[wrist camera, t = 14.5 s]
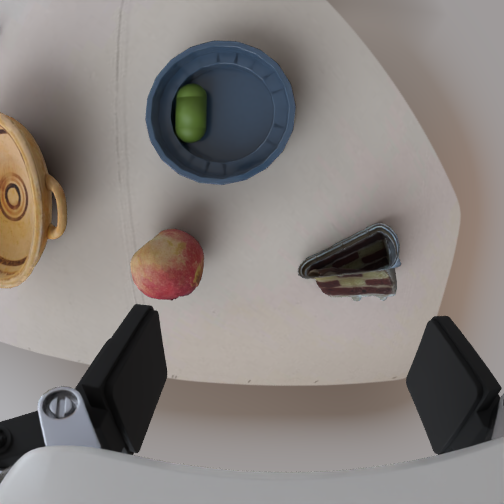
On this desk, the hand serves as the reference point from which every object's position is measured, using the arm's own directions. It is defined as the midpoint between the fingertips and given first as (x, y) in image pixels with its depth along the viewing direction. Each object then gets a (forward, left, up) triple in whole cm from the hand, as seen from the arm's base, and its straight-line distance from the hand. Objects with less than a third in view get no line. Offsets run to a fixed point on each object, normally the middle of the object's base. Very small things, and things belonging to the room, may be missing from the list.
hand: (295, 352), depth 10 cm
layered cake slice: (+4, +12, -26) cm, 29 cm away
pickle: (-5, -11, -23) cm, 26 cm away
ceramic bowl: (+13, -35, -26) cm, 46 cm away
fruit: (+11, -8, -26) cm, 30 cm away
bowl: (-6, -9, -26) cm, 28 cm away
